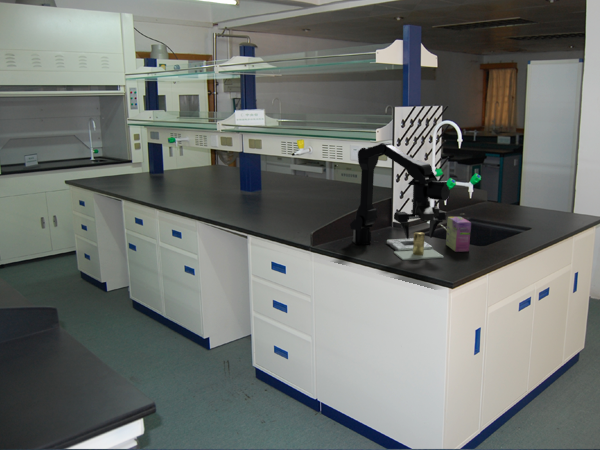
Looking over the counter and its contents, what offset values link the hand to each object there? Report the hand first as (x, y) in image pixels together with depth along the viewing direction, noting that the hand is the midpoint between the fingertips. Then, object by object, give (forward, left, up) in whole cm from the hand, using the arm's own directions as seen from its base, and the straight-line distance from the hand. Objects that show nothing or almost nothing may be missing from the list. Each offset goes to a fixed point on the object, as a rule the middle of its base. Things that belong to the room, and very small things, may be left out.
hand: (419, 238), depth 197 cm
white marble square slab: (+1, +13, -7) cm, 14 cm away
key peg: (0, 0, -6) cm, 6 cm away
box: (+19, +7, -7) cm, 21 cm away
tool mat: (0, 0, -7) cm, 7 cm away
